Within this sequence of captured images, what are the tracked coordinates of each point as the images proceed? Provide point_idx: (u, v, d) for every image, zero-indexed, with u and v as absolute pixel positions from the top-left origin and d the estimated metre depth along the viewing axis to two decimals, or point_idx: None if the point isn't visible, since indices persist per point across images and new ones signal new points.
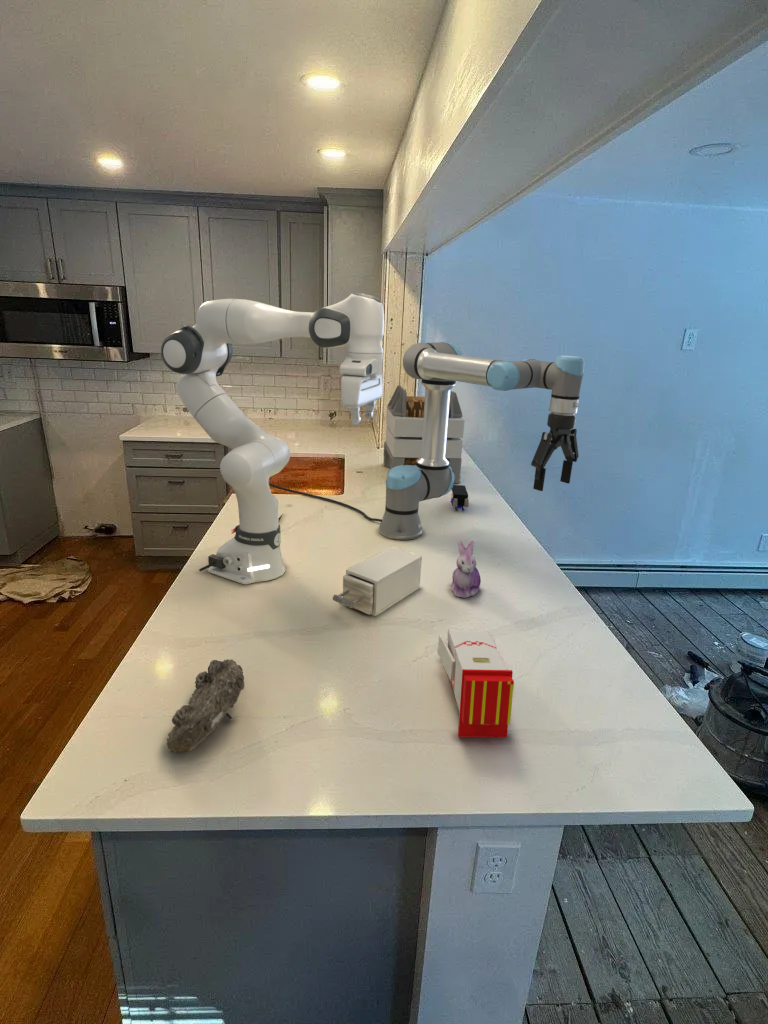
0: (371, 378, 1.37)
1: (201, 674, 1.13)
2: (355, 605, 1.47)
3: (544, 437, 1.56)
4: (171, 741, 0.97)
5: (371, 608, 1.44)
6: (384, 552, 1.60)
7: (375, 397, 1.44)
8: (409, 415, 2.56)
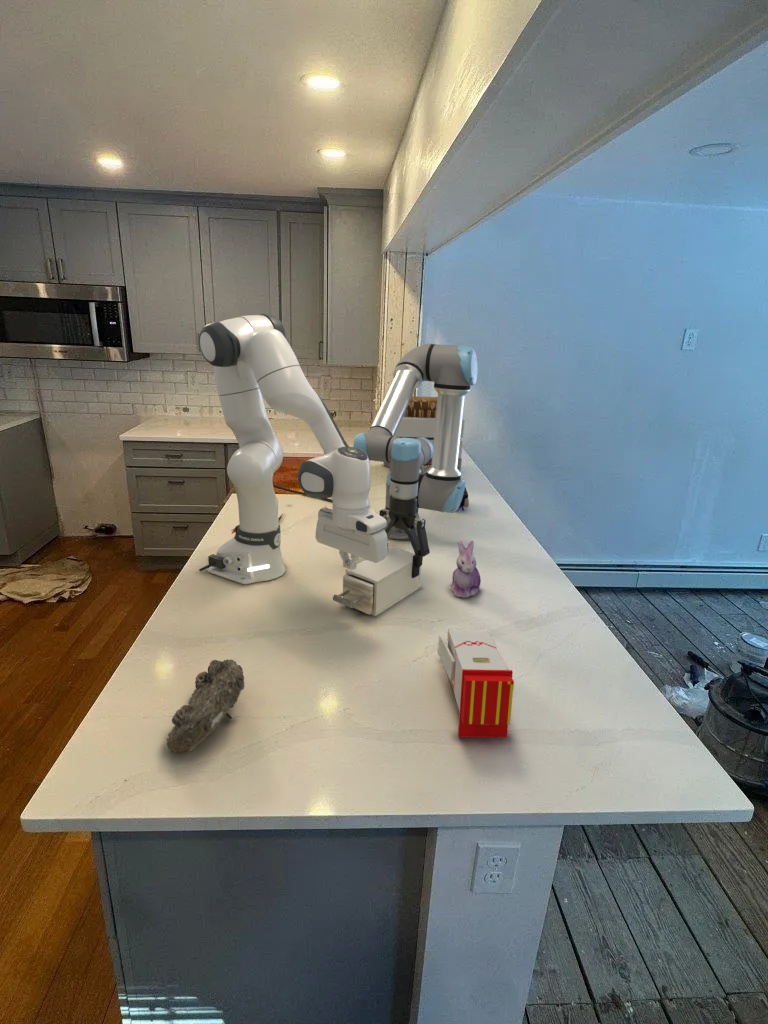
0: None
1: (201, 674, 1.13)
2: (355, 605, 1.47)
3: None
4: (171, 741, 0.97)
5: (371, 608, 1.44)
6: None
7: None
8: (409, 415, 2.56)
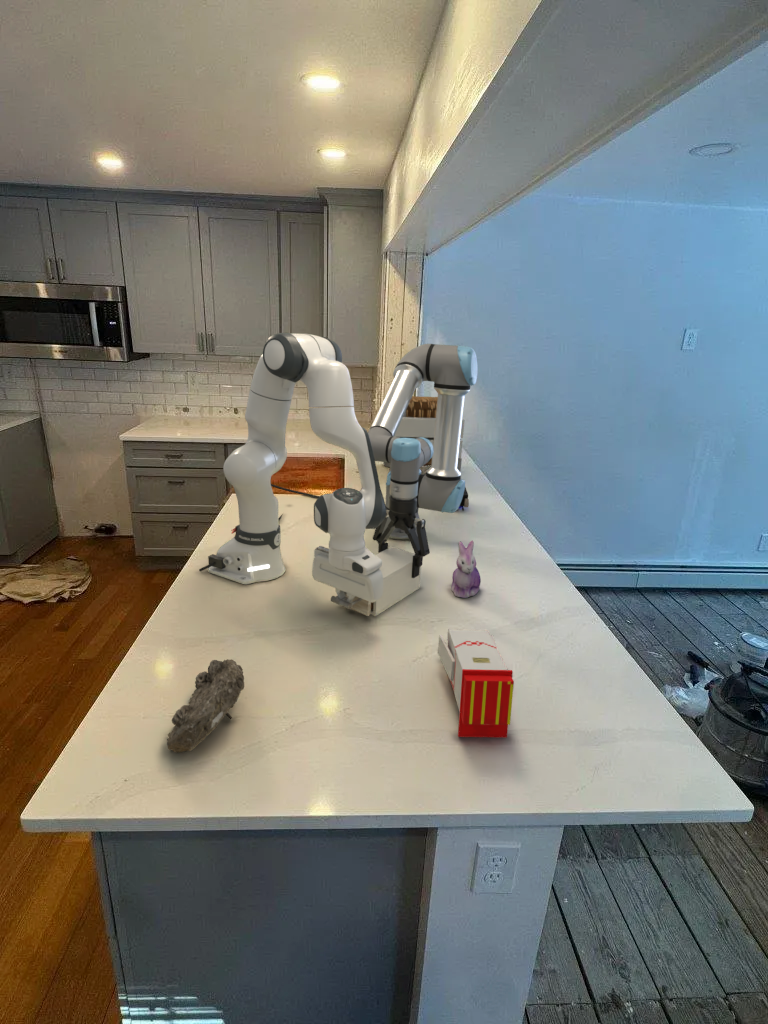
0: None
1: (201, 674, 1.13)
2: (353, 606, 1.46)
3: None
4: (171, 741, 0.97)
5: (369, 609, 1.44)
6: (384, 552, 1.60)
7: None
8: (409, 415, 2.56)
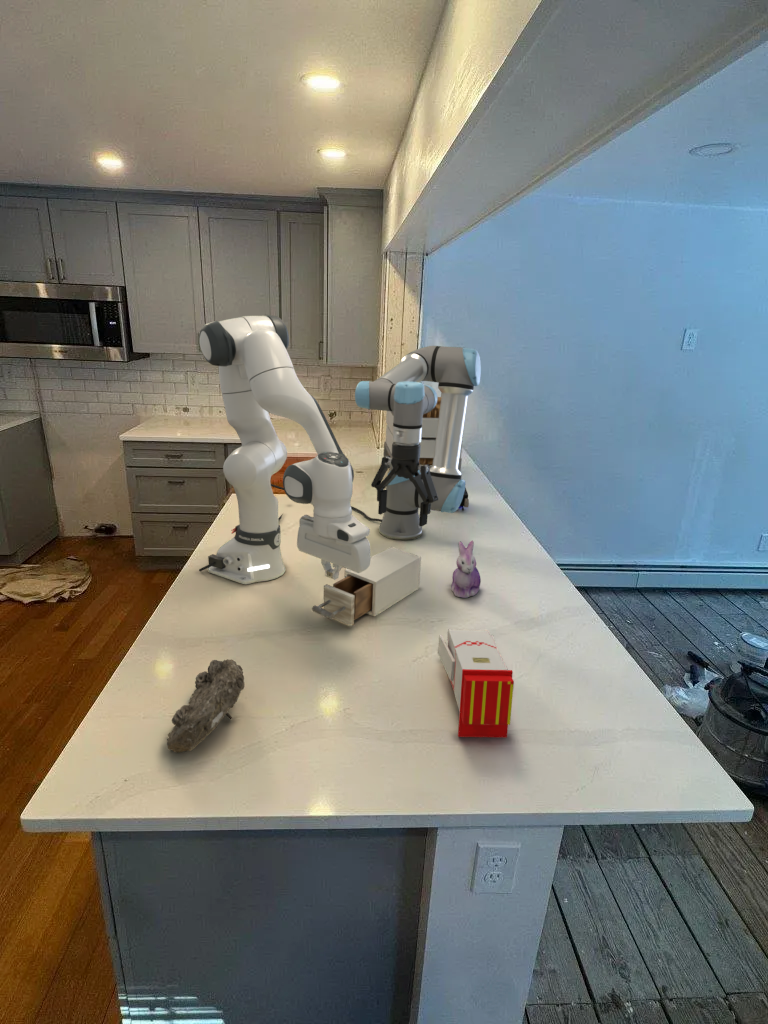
0: None
1: (201, 674, 1.13)
2: (336, 616, 1.41)
3: None
4: (171, 741, 0.97)
5: (352, 619, 1.39)
6: (383, 552, 1.59)
7: None
8: None
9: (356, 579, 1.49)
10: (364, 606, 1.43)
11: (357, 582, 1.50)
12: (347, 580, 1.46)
